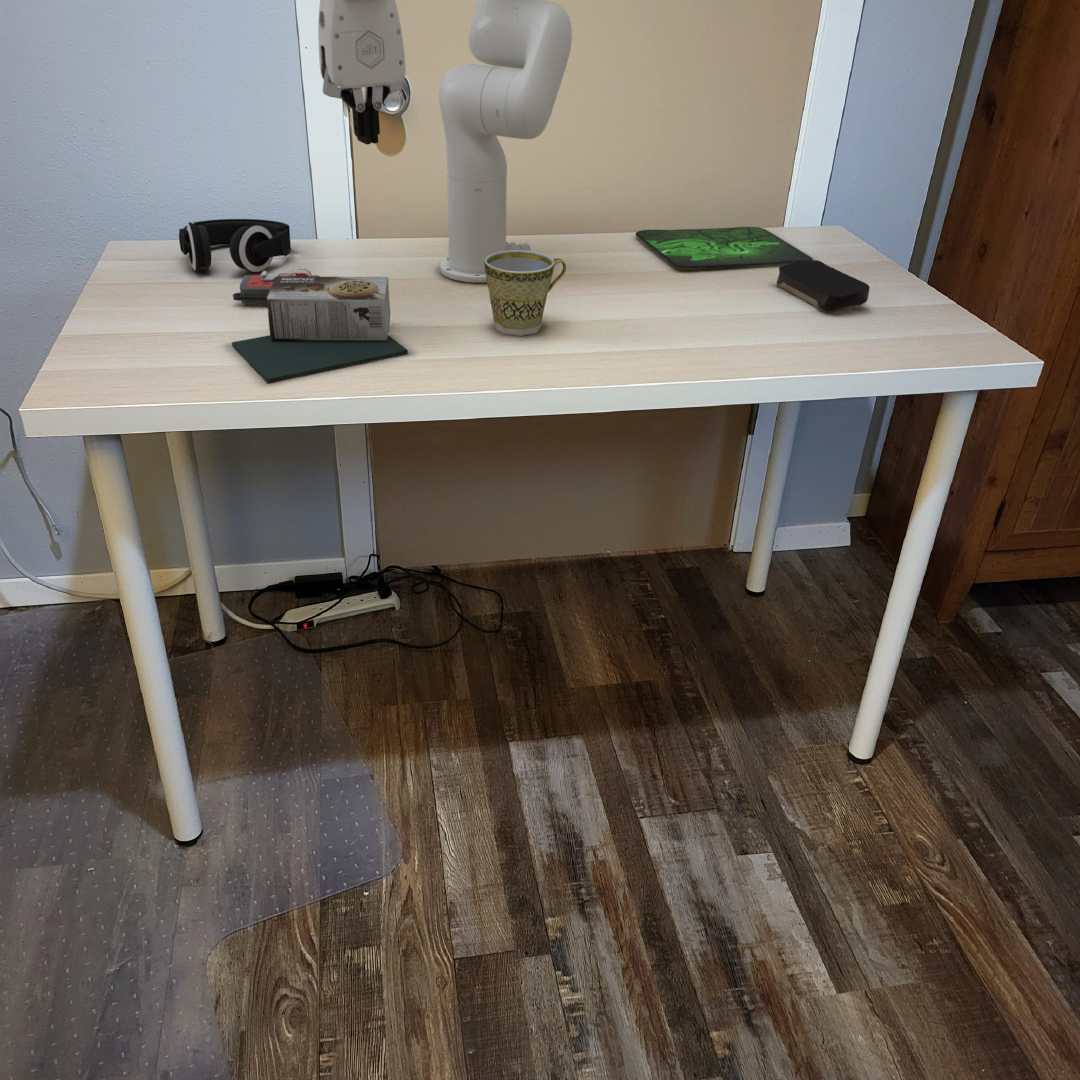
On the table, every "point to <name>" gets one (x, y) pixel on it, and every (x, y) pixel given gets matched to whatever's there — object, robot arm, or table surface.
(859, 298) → the black flat block
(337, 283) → the coffee box
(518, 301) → the ceramic cup
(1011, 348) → the table surface
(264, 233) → the headphones
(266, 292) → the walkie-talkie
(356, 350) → the mat
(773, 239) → the mouse mat
